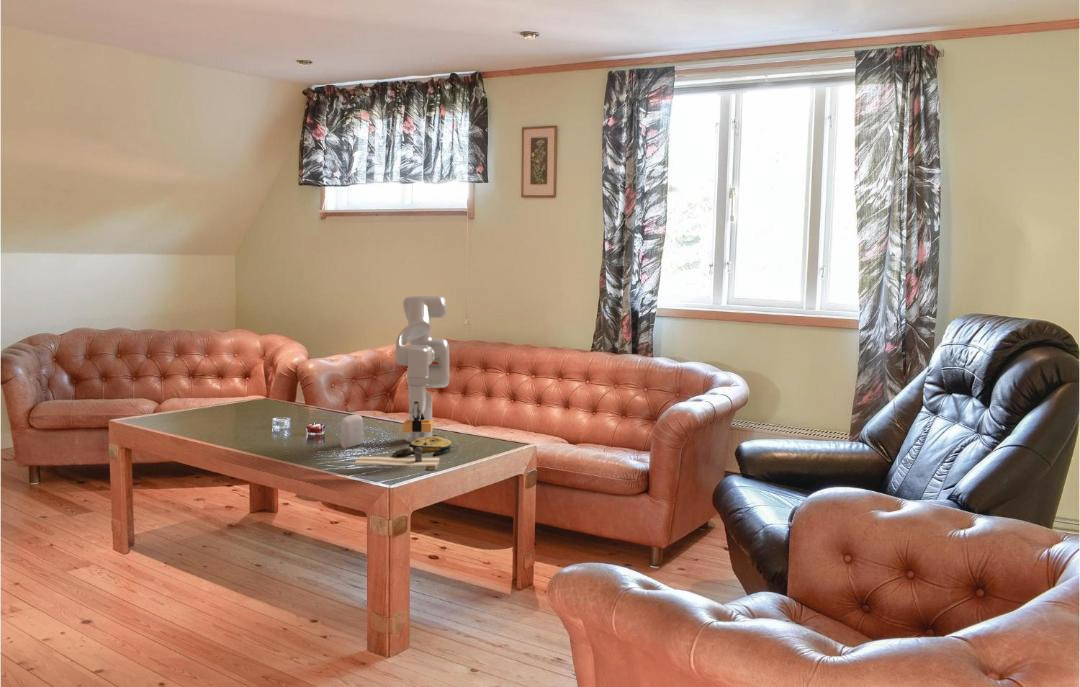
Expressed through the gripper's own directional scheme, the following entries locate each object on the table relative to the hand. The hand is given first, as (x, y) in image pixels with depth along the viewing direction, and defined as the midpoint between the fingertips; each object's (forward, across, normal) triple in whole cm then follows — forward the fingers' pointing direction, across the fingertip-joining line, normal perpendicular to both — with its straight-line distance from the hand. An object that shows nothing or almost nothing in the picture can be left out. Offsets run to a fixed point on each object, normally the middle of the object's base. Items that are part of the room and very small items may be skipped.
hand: (418, 429), depth 323 cm
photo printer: (+13, -31, -31) cm, 46 cm away
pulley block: (+13, -19, -1) cm, 23 cm away
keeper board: (+14, -1, -8) cm, 16 cm away
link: (0, 0, 0) cm, 0 cm away
